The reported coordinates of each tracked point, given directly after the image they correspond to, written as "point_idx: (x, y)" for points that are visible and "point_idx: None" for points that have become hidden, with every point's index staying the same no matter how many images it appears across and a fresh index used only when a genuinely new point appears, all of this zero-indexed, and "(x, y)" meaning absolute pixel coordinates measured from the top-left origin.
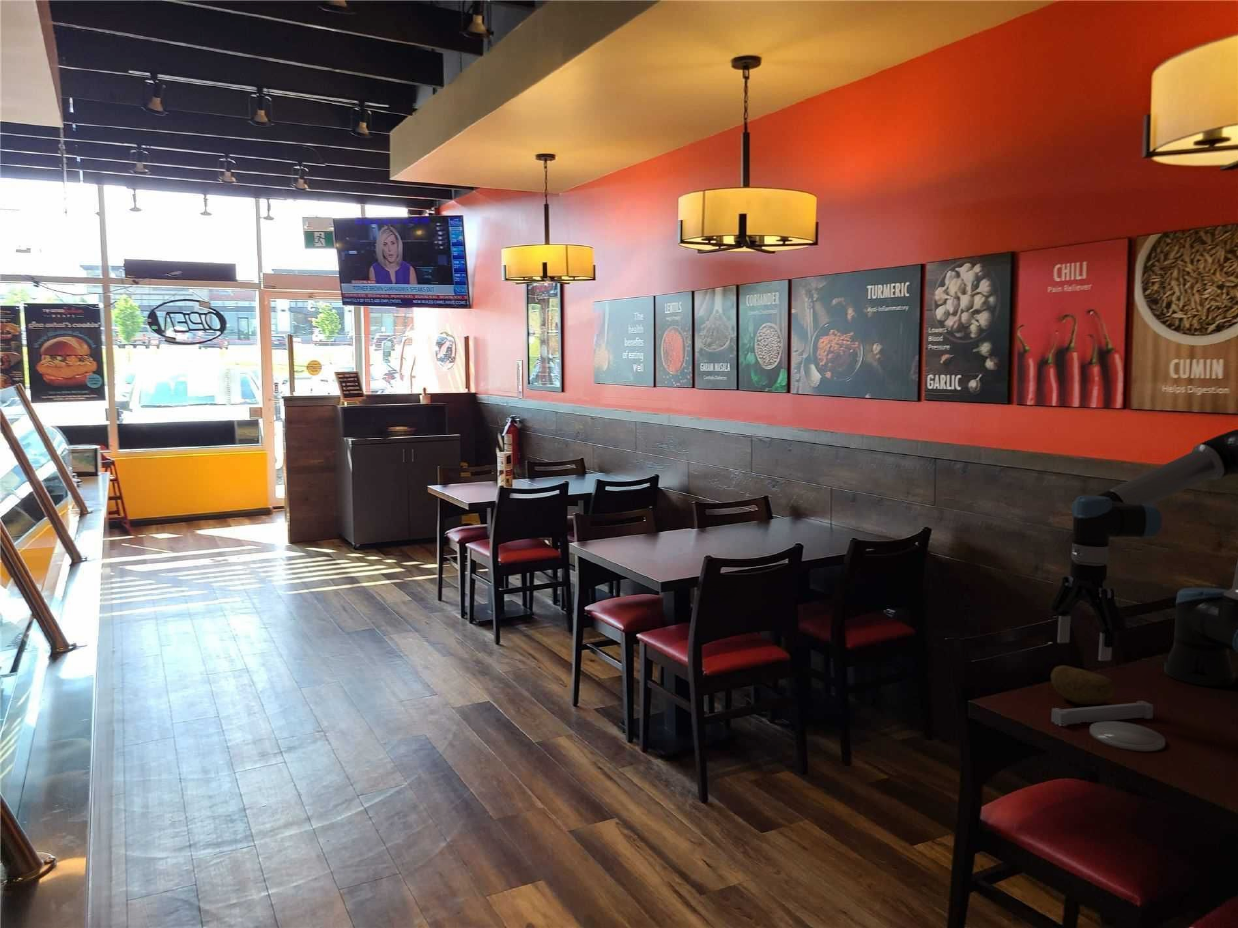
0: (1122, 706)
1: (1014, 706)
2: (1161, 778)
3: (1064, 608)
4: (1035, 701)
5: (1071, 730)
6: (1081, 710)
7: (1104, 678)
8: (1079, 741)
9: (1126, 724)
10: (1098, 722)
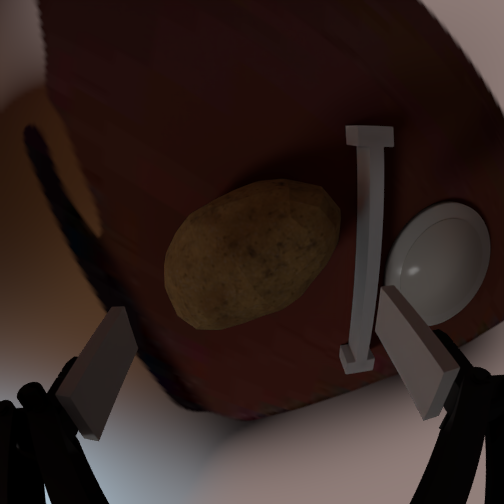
0: (382, 216)
1: (253, 379)
2: None
3: (99, 486)
4: (229, 332)
5: None
6: (371, 326)
7: (319, 235)
8: None
9: (417, 241)
10: None
